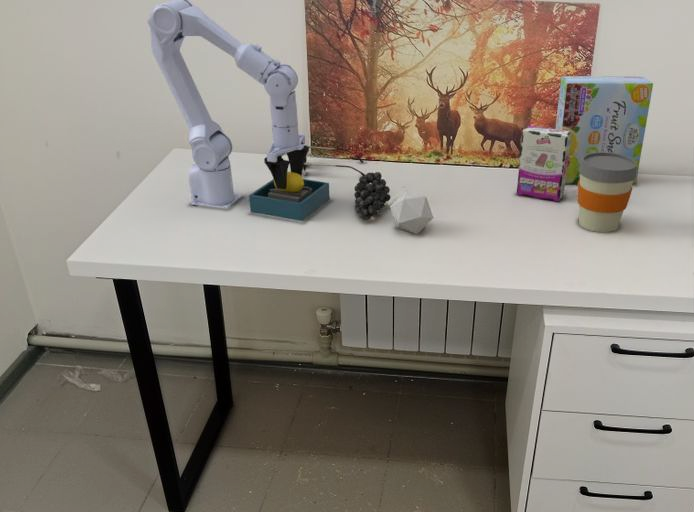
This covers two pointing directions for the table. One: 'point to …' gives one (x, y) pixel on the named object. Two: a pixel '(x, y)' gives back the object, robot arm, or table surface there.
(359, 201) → the fruit
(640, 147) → the snack box
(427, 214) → the die
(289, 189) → the lemon
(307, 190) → the grey block
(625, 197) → the reusable coffee cup
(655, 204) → the table surface
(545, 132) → the candy bar box
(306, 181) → the crate
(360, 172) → the sunglasses
